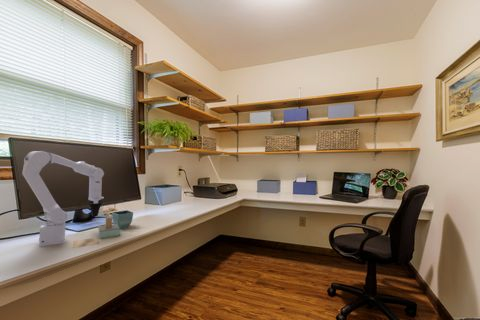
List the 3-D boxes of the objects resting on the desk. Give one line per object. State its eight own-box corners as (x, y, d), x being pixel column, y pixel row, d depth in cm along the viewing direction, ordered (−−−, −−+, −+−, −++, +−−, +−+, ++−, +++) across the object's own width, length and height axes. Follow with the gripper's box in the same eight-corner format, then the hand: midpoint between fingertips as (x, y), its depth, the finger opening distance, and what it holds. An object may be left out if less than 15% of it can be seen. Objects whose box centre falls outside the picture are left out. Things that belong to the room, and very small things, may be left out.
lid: (99, 232, 113) (99, 220, 113) (97, 227, 120) (98, 216, 120) (119, 229, 118) (119, 218, 118) (117, 225, 125) (117, 214, 125)
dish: (99, 239, 113) (99, 232, 113) (98, 234, 120) (98, 227, 120) (119, 236, 118) (119, 229, 118) (117, 231, 125) (117, 225, 125)
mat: (72, 248, 101) (72, 247, 101) (73, 241, 109) (73, 241, 109) (99, 244, 106) (99, 243, 106) (97, 237, 114) (97, 237, 114)
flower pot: (126, 224, 139) (127, 209, 139) (133, 227, 133) (133, 212, 133) (111, 227, 132) (111, 212, 132) (117, 230, 126) (118, 214, 126)
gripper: (105, 190, 118) (104, 216, 118) (102, 187, 130) (102, 211, 130) (89, 191, 114) (88, 218, 114) (88, 188, 126) (87, 212, 126)
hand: (94, 214), depth 122 cm, fingers open, 7 cm apart
